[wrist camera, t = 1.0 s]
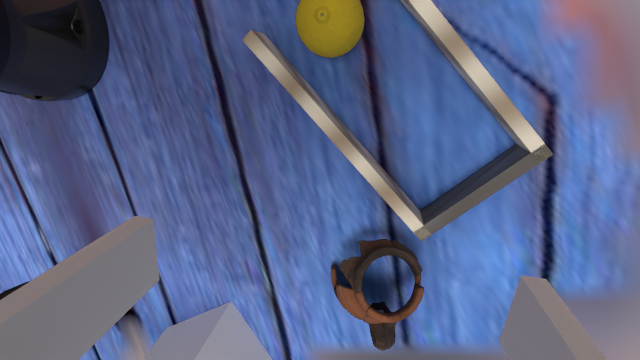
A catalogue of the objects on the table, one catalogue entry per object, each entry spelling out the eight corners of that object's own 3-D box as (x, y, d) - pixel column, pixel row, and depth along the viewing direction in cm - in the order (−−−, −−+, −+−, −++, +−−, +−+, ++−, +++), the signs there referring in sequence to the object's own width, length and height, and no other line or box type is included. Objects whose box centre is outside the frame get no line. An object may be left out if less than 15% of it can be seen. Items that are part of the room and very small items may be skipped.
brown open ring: (316, 243, 40) (333, 255, 31) (389, 221, 42) (423, 227, 33) (342, 342, 40) (365, 379, 31) (413, 316, 42) (453, 345, 33)
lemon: (327, 70, 33) (310, 70, 25) (296, 18, 32) (269, 2, 24) (377, 36, 31) (375, 26, 24) (347, -20, 30) (334, -49, 23)
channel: (256, 42, 33) (242, 40, 30) (359, -75, 29) (356, -94, 25) (418, 225, 36) (421, 241, 33) (535, 145, 31) (553, 154, 28)
